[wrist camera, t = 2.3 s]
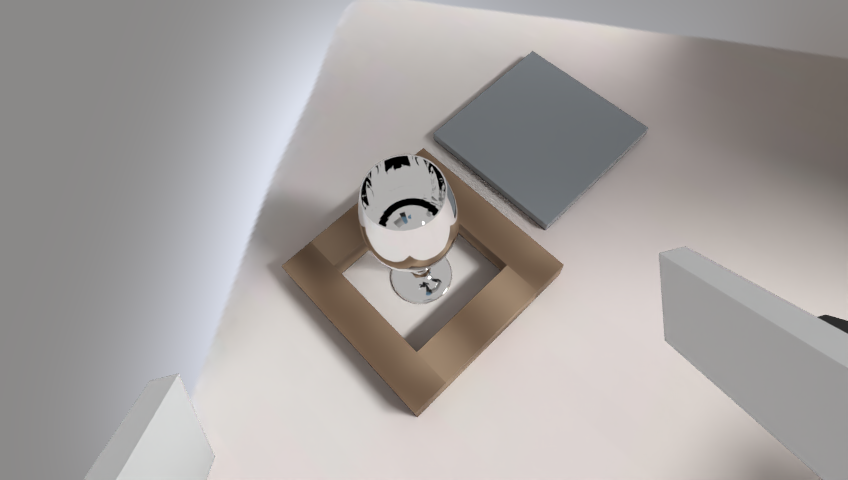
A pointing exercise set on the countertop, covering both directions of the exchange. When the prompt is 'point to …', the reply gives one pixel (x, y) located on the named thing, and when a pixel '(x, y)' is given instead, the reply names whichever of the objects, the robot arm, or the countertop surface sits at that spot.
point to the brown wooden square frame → (464, 334)
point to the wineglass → (410, 224)
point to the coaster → (540, 138)
